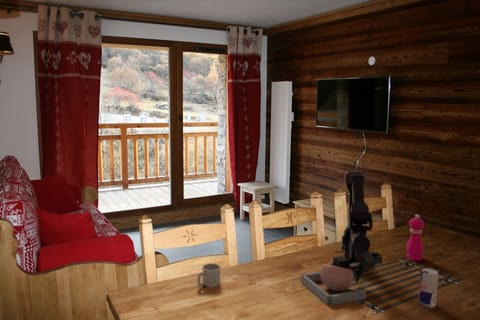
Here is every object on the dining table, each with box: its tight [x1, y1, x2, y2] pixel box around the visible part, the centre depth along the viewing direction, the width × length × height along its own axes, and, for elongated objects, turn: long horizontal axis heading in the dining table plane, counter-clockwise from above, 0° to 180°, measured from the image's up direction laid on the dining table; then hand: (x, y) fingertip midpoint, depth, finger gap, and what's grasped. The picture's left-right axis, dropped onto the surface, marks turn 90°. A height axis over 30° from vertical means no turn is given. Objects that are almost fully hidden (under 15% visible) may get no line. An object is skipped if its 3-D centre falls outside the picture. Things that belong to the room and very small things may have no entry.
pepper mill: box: [405, 214, 425, 262], centre depth 181 cm, size 7×7×20 cm
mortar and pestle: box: [319, 258, 354, 292], centre depth 151 cm, size 12×12×12 cm
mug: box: [196, 263, 221, 288], centre depth 154 cm, size 10×7×7 cm
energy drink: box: [418, 267, 439, 309], centre depth 140 cm, size 5×5×12 cm
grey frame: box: [300, 271, 367, 306], centre depth 151 cm, size 19×15×3 cm
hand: (356, 281), depth 154 cm, fingers closed
